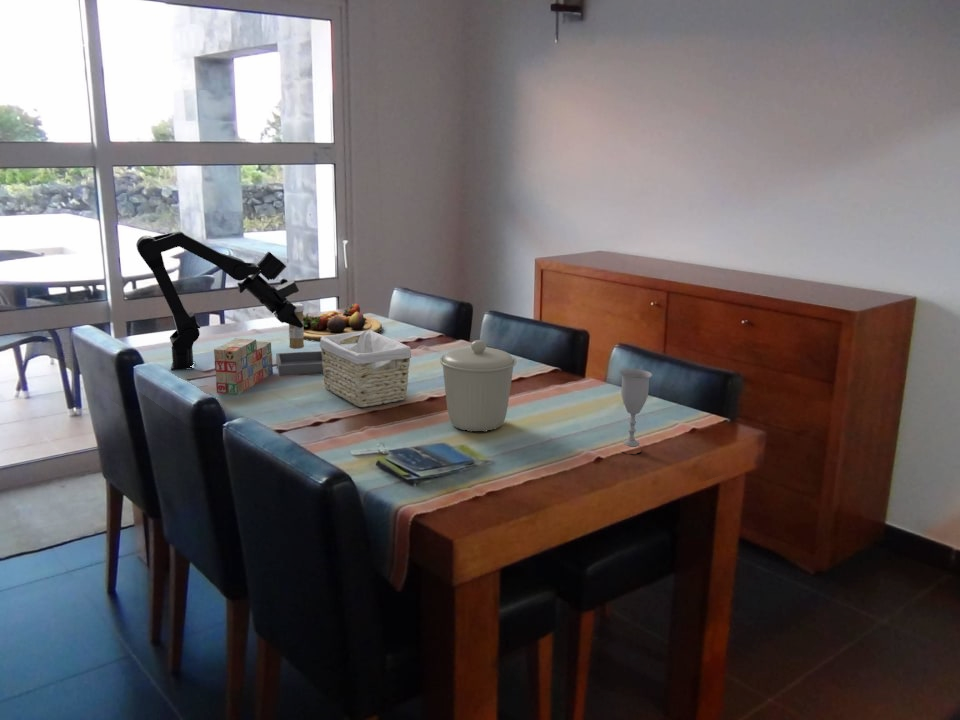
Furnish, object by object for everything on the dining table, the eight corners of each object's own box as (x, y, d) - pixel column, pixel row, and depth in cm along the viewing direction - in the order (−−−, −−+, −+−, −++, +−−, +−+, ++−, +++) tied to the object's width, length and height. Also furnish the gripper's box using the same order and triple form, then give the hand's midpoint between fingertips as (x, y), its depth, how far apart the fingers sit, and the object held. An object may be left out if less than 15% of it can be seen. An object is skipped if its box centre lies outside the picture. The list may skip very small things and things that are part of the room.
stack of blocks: (253, 371, 245) (251, 330, 242) (273, 373, 244) (271, 331, 241) (216, 393, 225) (213, 348, 222) (238, 395, 224) (235, 350, 220)
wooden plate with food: (337, 317, 317) (336, 295, 315) (400, 329, 299) (400, 306, 297) (269, 334, 293) (268, 311, 290) (334, 348, 274) (333, 323, 272)
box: (276, 363, 254) (276, 353, 253) (323, 360, 258) (323, 351, 257) (279, 376, 241) (278, 365, 240) (328, 373, 245) (328, 363, 244)
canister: (442, 412, 213) (442, 330, 208) (514, 414, 213) (516, 332, 207) (436, 437, 196) (436, 349, 190) (514, 439, 195) (517, 351, 190)
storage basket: (318, 387, 231) (316, 335, 228) (371, 378, 240) (371, 328, 236) (357, 411, 212) (356, 355, 209) (413, 401, 221) (413, 346, 217)
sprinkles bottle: (287, 346, 261) (286, 303, 258) (301, 345, 264) (300, 302, 260) (291, 349, 258) (290, 306, 254) (306, 348, 260) (305, 305, 256)
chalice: (611, 444, 193) (616, 368, 188) (641, 444, 194) (646, 368, 189) (619, 456, 186) (624, 378, 181) (649, 456, 187) (655, 378, 182)
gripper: (288, 276, 245) (326, 312, 252) (275, 266, 261) (311, 300, 268) (261, 305, 243) (300, 339, 251) (250, 293, 260) (287, 326, 267)
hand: (300, 325), depth 259 cm, fingers closed on sprinkles bottle, 4 cm apart
